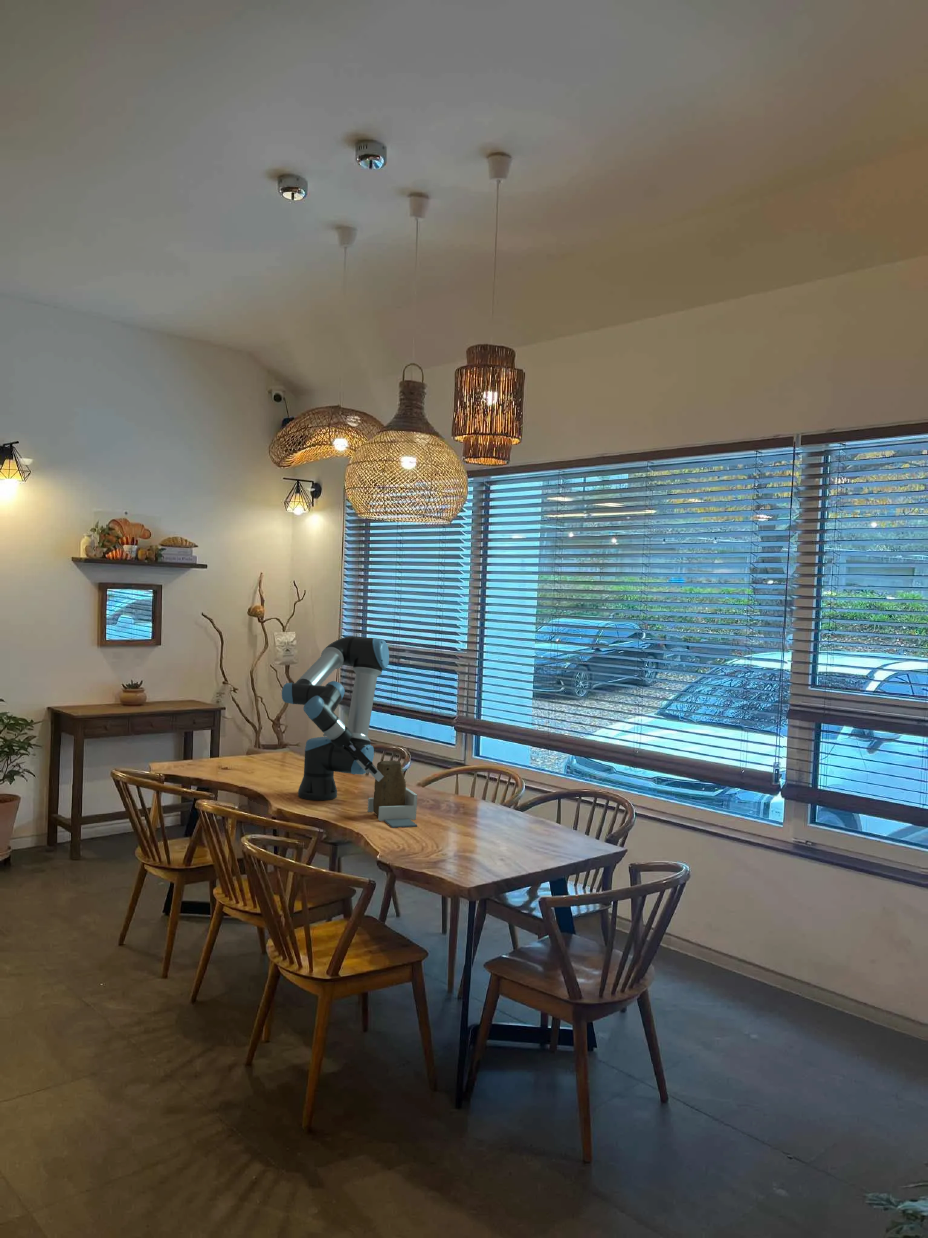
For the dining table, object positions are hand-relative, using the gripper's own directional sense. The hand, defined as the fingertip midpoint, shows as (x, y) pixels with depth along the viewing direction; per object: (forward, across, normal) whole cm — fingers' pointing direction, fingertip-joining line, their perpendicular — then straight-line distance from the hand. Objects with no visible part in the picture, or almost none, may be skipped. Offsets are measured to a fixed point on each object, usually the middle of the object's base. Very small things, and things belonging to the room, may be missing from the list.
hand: (375, 775), depth 321 cm
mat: (+16, +11, -6) cm, 20 cm away
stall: (+16, -1, -6) cm, 17 cm away
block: (+16, -1, -6) cm, 17 cm away
